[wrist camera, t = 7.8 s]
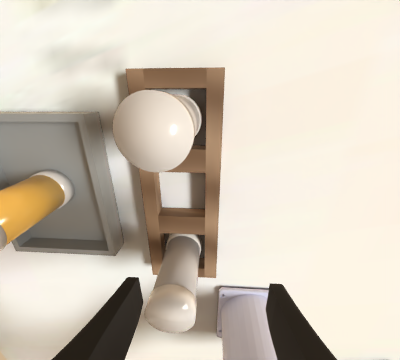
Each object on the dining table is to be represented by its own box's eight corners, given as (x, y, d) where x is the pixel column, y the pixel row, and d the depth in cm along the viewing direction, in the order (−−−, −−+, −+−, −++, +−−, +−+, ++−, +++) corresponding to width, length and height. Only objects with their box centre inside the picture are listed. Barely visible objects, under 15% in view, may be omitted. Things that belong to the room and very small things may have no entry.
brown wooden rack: (215, 266, 22) (215, 277, 21) (156, 263, 23) (153, 274, 21) (223, 70, 15) (225, 67, 13) (133, 71, 15) (125, 68, 14)
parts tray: (123, 242, 22) (115, 255, 20) (32, 238, 22) (16, 251, 21) (98, 112, 16) (83, 113, 14) (-22, 111, 17) (-51, 113, 15)
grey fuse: (201, 255, 22) (195, 334, 14) (169, 253, 22) (147, 331, 15) (201, 228, 20) (195, 301, 13) (167, 227, 21) (141, 298, 13)
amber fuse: (78, 203, 19) (-3, 267, 12) (44, 202, 20) (-56, 264, 12) (69, 169, 18) (-30, 218, 11) (31, 168, 18) (-91, 216, 11)
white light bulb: (201, 140, 17) (193, 173, 9) (160, 140, 17) (119, 171, 10) (202, 94, 15) (192, 89, 8) (156, 94, 16) (105, 89, 8)
